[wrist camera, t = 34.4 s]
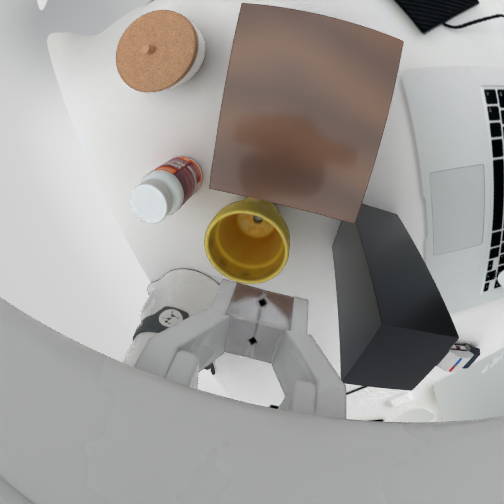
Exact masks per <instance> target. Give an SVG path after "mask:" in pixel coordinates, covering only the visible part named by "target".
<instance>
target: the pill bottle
mask: <svg viewBox="0 0 504 504" xmlns="http://www.w3.org/2000/svg"><path fill="white" fill-rule="evenodd" d="M201 183H202V172H201V169H200V167H199V165H198V164H197V163H196V162H195V161H194V160H193V159H191V158H189V157H186V156H178V157H175V158H173V159H171V160H169V161H168V162H166V163H164V164H163V165H161V166H160V167H158V168H156V169H155V170H153V171H151V172H150V173H148V174H147V175H146V176H145V177H144V178H143V180H142V181H141V183H140V184H139V185H138V186H136V187H135V188H134V189H133V191H132V193H131V196H130V205H131V208H132V210H133V212H134V214H135V215H136V216H137V217H138V218H139V219H140V220H141V221H143V222H145V223H149V224H155V223H158V222H160V221H162V220H163V219H164V218H165V217H166V216H169V215H171V214H173V213H175V212H176V211H177V210H178V209H179V208H180V207H181V206H182V205H183V204H184V203H185V202H186V201H187V200H188V199H189V198H190V197H191V196H192V195H193V194H194V193H195V192H196V191H197V190H198V189H199V187H200V185H201Z"/></svg>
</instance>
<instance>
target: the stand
mask: <svg viewBox="0 0 504 504" xmlns="http://www.w3.org/2000/svg"><path fill="white" fill-rule="evenodd" d="M332 250H333V259H334V269H335V279H336V291H337V303H338V318H339V336H340V360H341V380H342V381H343V383H346V384H353V385H361V386H369V387H378V388H388V389H400V390H413V389H414V388H415V387H416V386H417V385H418V384H419V383H420V382H421V381H422V380H423V378H424V377H425V376H426V375H427V374H428V373H429V372H430V371H431V370H432V369H433V368H434V367H435V366H436V365H437V363H438V362H439V361H440V360H441V359H442V358H443V357H444V355H445V354H446V353H447V352H448V351H449V350H450V348H451V347H452V346H453V345H454V344H455V342H456V341H457V340H458V339H459V336H458V334H457V331H456V329H455V326H454V324H453V322H452V319H451V317H450V314H449V312H448V310H447V308H446V305H445V303H444V301H443V299H442V297H441V294H440V292H439V290H438V288H437V286H436V284H435V282H434V280H433V278H432V276H431V274H430V272H429V270H428V268H427V266H426V264H425V262H424V260H423V259H422V257H421V255H420V253H419V251H418V249H417V248H416V246H415V244H414V242H413V240H412V239H411V237H410V235H409V233H408V232H407V230H406V228H405V227H404V225H403V223H402V222H401V220H400V218H399V217H398V215H396V214H393V213H390V212H387V211H384V210H381V209H377V208H374V207H371V206H368V205H364V204H361V206H360V209H359V212H358V215H357V218H356V221H355V223H354V224H353V223H349V222H346V221H342V220H341V223H340V226H339V229H338V232H337V235H336V238H335V240H334V243H333V246H332Z"/></svg>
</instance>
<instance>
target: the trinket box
mask: <svg viewBox="0 0 504 504" xmlns="http://www.w3.org/2000/svg"><path fill="white" fill-rule="evenodd" d="M205 50H206V47H205V40H204V37H203V35H202V33H201V31H200V30H199V29H198V27H197V26H196V25H195V24H194V23H193V22H191V21H190V20H188V19H187V18H186V17H184V16H183V15H181V14H179V13H176V12H174V11H169V10H158V11H153V12H150V13H147V14H145V15H143V16H141V17H139V18H138V19H136V20H135V21H134V22H133V23H132V24H131V25H130V26H129V27H128V28H127V29H126V30H125V32H124V33H123V35H122V37H121V39H120V41H119V44H118V47H117V51H116V65H117V69H118V72H119V74H120V76H121V78H122V80H123V81H124V82H125V83H126V84H127V85H128V86H130V87H131V88H133V89H135V90H138V91H141V92H157V91H162V90H166V89H170V88H173V87H176V86H179V85H181V84H183V83H184V82H186V81H187V80H189V79H190V78H191V77H193V76H194V75H195V73H196V72H197V71H198V70H199V68H200V67H201V65H202V63H203V60H204V57H205Z"/></svg>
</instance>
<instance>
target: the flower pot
mask: <svg viewBox="0 0 504 504" xmlns="http://www.w3.org/2000/svg"><path fill="white" fill-rule="evenodd" d="M254 216H258V217H260V218H262V221H260V222H257V221H255V219H254ZM204 245H205V251H206V254H207V257H208V259H209V261H210V262H211V264H212V265H213V266H214V267H215V268H216V269H217V270H218V271H219V272H220V273H221V274H223V275H224V276H226V277H227V278H229V279H231V280H234V281H237V282H241V283H247V284H256V283H262V282H265V281H268V280H270V279H272V278H274V277H275V276H276V275H278V274H279V273H280V272H281V271H282V269H283V268H284V266H285V265H286V262H287V260H288V255H289V246H290V238H289V231H288V228H287V226H286V224H285V222H284V220H283V219H282V217H281V216H280V215H279V211H278V209H277V207H276V206H275V205H274V204H273V203H272V202H268V201H264V200H259V199H255V198H251V197H248V198H246V199H244V200H242V201H237V202H234V203H231V204H229V205H227V206H226V207H224V208H223V209H222V210H221V211H220V212H219V213H218V214H217V215H216V216H215V217H214V219H213V220H212V222H211V223H210V225H209V226H208V228H207V231H206V234H205V240H204Z"/></svg>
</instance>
